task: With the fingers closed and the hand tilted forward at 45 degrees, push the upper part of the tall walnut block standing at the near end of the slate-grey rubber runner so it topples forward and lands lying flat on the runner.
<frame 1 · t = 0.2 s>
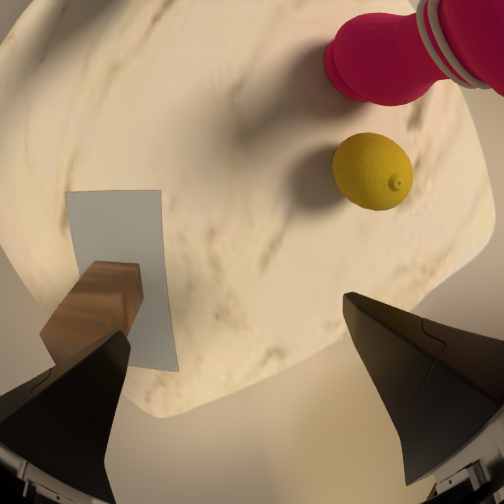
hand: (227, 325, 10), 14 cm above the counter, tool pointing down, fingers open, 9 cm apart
lemon: (349, 161, 21), on the counter
rubber runner: (124, 297, 26), on the counter
pepper mill: (357, 67, 17), on the counter
walnut block: (119, 279, 25), resting on rubber runner
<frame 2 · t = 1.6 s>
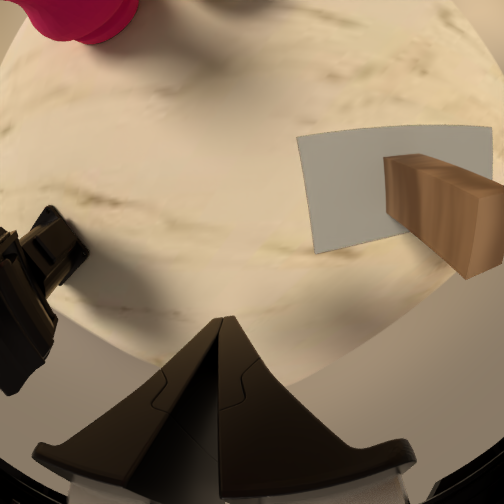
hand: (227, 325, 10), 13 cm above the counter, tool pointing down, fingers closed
rubber runner: (422, 178, 21), on the counter
pepper mill: (105, 13, 13), on the counter
walnut block: (403, 182, 20), resting on rubber runner
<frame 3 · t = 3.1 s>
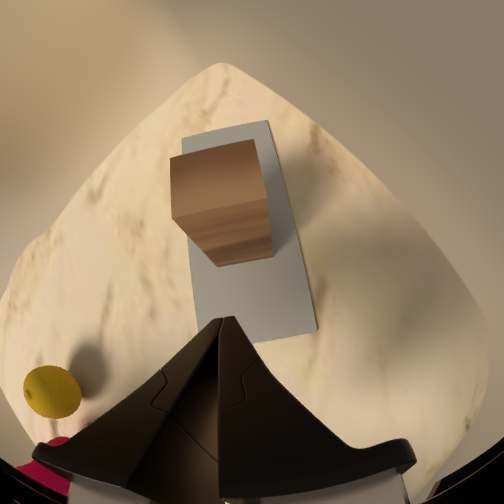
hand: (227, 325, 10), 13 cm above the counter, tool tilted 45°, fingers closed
lemon: (78, 388, 22), on the counter
rubber runner: (237, 217, 26), on the counter
pepper mill: (96, 455, 20), on the counter
walnut block: (241, 241, 25), resting on rubber runner
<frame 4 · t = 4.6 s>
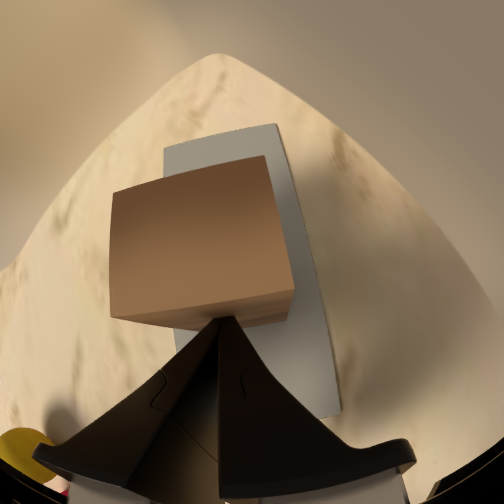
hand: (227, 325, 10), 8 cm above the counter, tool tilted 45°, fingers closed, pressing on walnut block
lemon: (57, 447, 15), on the counter
rubber runner: (237, 262, 19), on the counter
walnut block: (242, 297, 18), resting on rubber runner, touching gripper
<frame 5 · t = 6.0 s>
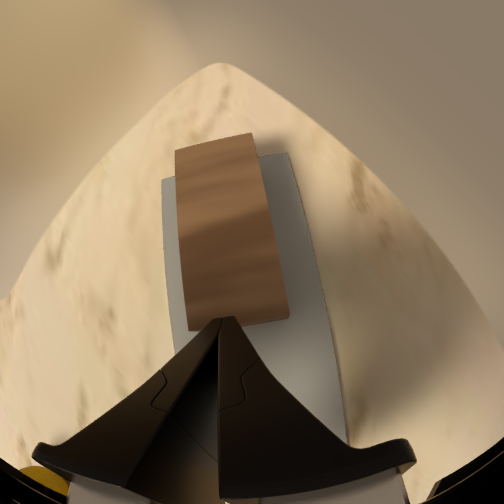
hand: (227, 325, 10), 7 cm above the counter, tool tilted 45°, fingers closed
lemon: (66, 480, 14), on the counter
rubber runner: (246, 319, 17), on the counter
walnut block: (243, 325, 15), point 2 cm above the counter, tilted 90°, touching rubber runner
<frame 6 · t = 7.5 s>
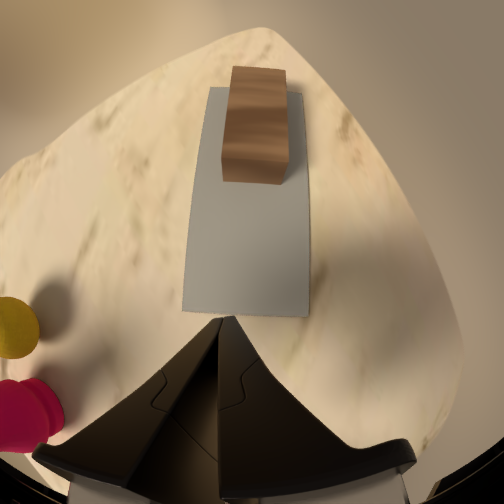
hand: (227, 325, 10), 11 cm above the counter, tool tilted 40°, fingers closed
lemon: (36, 327, 20), on the counter
rubber runner: (251, 180, 23), on the counter
pepper mill: (43, 405, 18), on the counter
walnut block: (253, 172, 21), point 2 cm above the counter, tilted 90°, touching rubber runner
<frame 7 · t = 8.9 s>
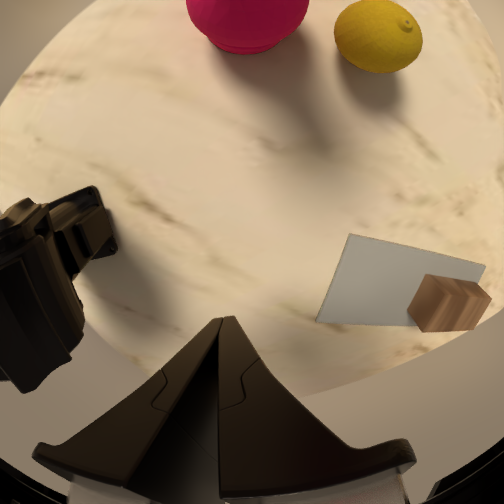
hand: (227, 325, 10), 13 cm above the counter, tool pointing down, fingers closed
lemon: (352, 47, 16), on the counter
rubber runner: (417, 291, 27), on the counter
pepper mill: (245, 21, 15), on the counter
walnut block: (424, 302, 25), point 2 cm above the counter, tilted 90°, touching rubber runner
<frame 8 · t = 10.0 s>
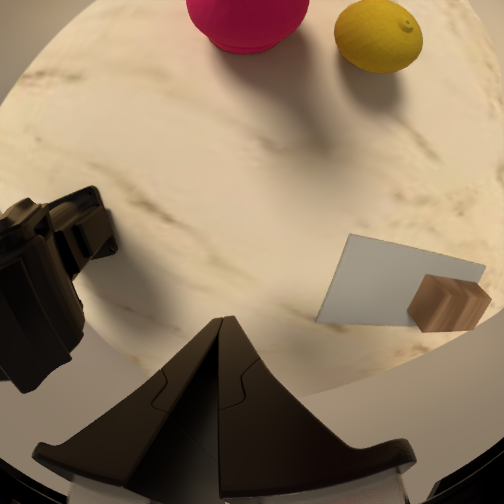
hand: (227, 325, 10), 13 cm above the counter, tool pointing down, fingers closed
lemon: (353, 48, 16), on the counter
rubber runner: (417, 291, 27), on the counter
pepper mill: (245, 21, 15), on the counter
walnut block: (424, 303, 24), point 2 cm above the counter, tilted 90°, touching rubber runner
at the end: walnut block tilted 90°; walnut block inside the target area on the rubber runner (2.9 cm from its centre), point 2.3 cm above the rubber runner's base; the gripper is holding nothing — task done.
